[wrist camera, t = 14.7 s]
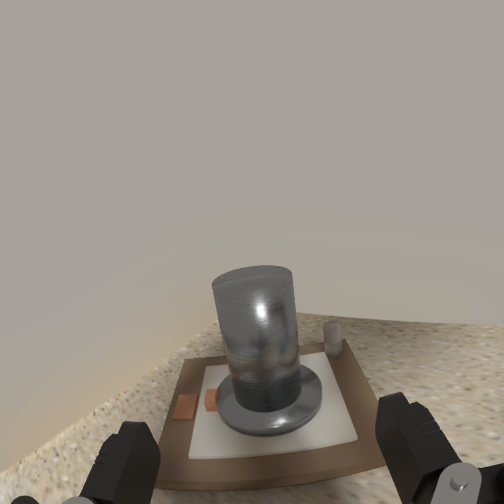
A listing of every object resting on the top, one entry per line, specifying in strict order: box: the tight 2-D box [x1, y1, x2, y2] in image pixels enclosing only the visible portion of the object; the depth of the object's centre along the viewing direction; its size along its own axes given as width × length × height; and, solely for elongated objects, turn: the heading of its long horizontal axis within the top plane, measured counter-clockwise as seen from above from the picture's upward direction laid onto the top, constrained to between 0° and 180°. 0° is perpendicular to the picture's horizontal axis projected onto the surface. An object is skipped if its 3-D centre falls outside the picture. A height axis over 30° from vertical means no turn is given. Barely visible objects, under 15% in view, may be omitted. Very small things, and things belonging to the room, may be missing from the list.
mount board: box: [154, 321, 387, 491], centre depth 22 cm, size 16×15×4 cm
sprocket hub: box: [204, 265, 322, 437], centre depth 21 cm, size 9×8×10 cm
